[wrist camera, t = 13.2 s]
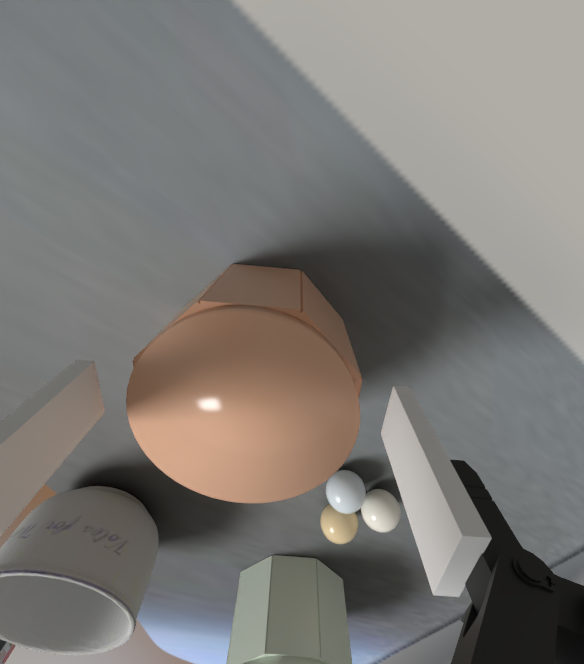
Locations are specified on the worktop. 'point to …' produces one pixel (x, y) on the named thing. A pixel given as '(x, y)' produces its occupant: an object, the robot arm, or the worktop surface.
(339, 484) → the marble bluegrey
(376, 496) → the marble cream
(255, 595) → the sage acorn nut
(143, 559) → the teacup
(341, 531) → the marble amber
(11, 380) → the worktop surface
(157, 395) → the peach acorn nut
